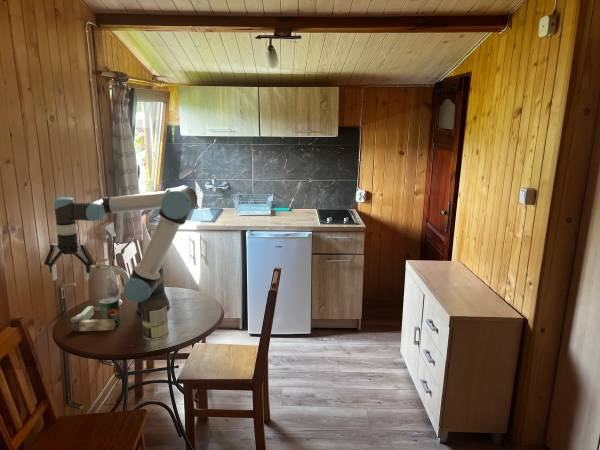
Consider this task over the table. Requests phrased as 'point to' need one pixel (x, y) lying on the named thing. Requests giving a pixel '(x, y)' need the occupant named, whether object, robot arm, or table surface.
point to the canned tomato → (110, 309)
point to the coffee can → (154, 319)
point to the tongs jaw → (84, 315)
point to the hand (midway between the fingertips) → (71, 279)
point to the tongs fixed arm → (94, 325)
